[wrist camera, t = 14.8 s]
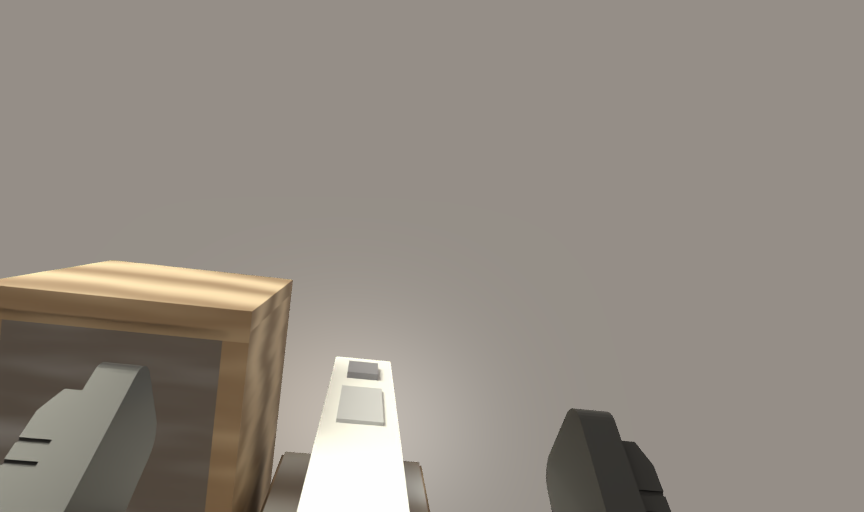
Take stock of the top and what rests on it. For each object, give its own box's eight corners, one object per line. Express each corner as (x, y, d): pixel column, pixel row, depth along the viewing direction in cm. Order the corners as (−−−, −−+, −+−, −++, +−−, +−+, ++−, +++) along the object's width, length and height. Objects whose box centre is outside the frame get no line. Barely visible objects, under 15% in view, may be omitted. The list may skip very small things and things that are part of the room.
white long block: (394, 667, 21) (413, 517, 21) (278, 662, 20) (295, 509, 20) (382, 427, 45) (390, 356, 44) (328, 422, 44) (336, 351, 44)
